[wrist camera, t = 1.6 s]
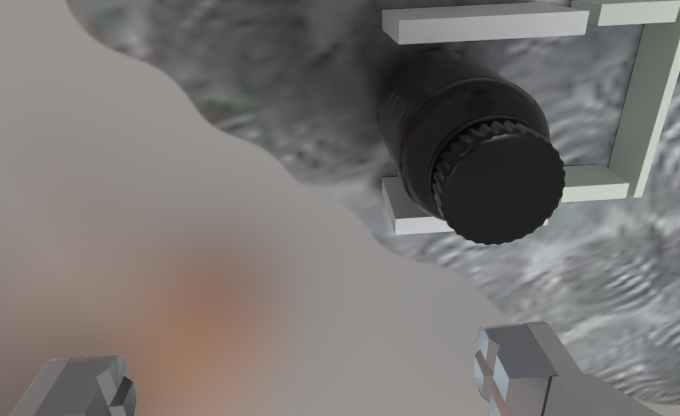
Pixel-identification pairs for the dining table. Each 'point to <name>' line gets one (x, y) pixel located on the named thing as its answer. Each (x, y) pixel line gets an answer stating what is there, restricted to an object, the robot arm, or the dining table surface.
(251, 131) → the dining table surface
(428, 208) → the supplement bottle
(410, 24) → the channel
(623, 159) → the dock
